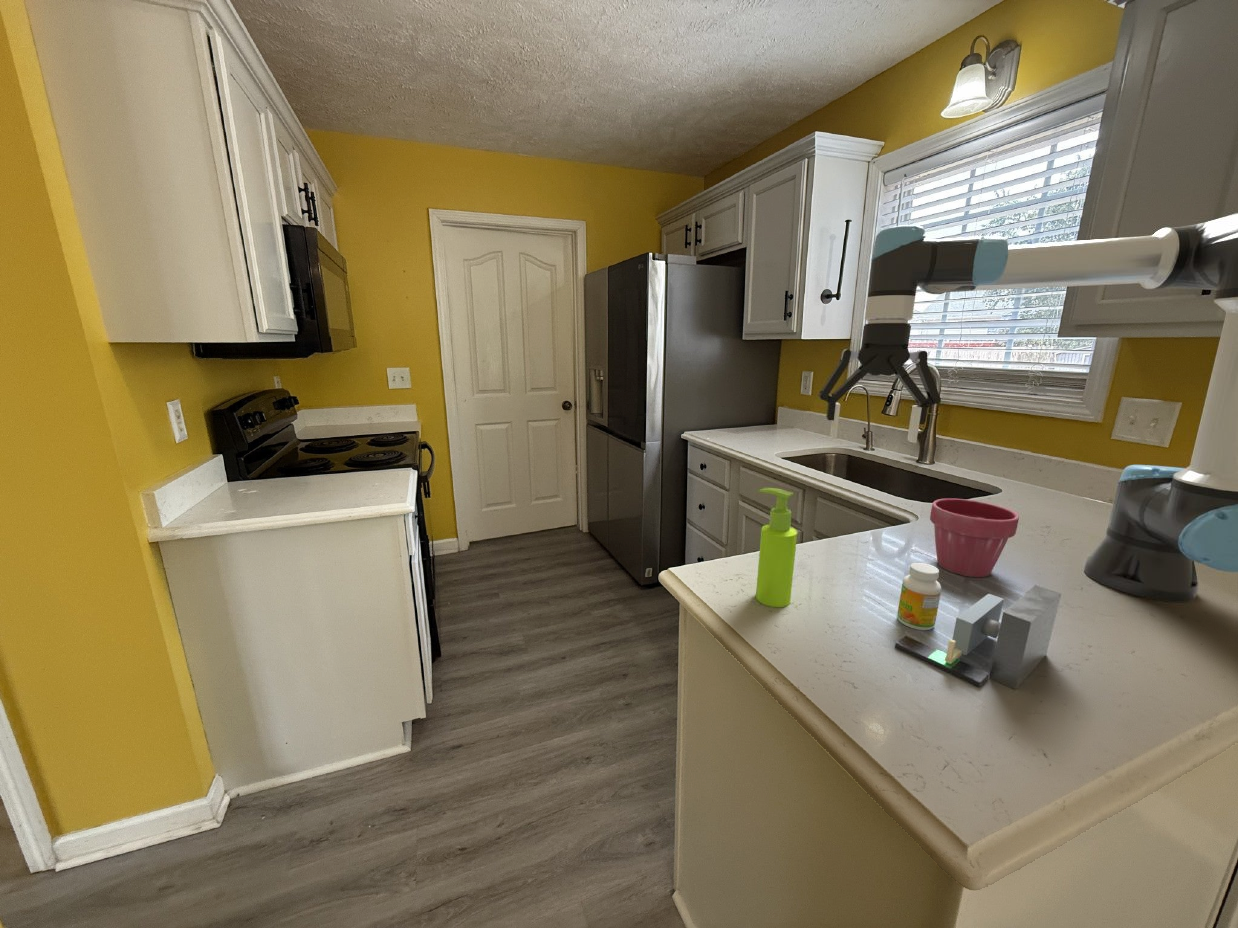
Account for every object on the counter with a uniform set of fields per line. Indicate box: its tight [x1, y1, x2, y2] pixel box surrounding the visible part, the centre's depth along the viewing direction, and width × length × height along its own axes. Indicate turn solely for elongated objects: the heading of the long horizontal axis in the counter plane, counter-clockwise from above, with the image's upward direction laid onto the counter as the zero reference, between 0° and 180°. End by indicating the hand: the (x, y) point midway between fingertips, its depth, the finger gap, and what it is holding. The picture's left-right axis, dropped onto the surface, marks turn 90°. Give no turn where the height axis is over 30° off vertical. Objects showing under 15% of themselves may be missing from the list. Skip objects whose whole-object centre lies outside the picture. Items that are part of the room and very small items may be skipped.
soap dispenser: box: [755, 487, 798, 608], centre depth 87 cm, size 6×7×20 cm
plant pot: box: [929, 498, 1020, 578], centre depth 101 cm, size 14×14×13 cm
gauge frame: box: [894, 584, 1062, 690], centre depth 73 cm, size 14×16×10 cm
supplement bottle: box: [896, 562, 942, 631], centre depth 81 cm, size 5×5×10 cm
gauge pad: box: [945, 593, 1004, 664], centre depth 73 cm, size 4×16×5 cm, turn 126°
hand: (871, 439), depth 94 cm, fingers open, 13 cm apart
